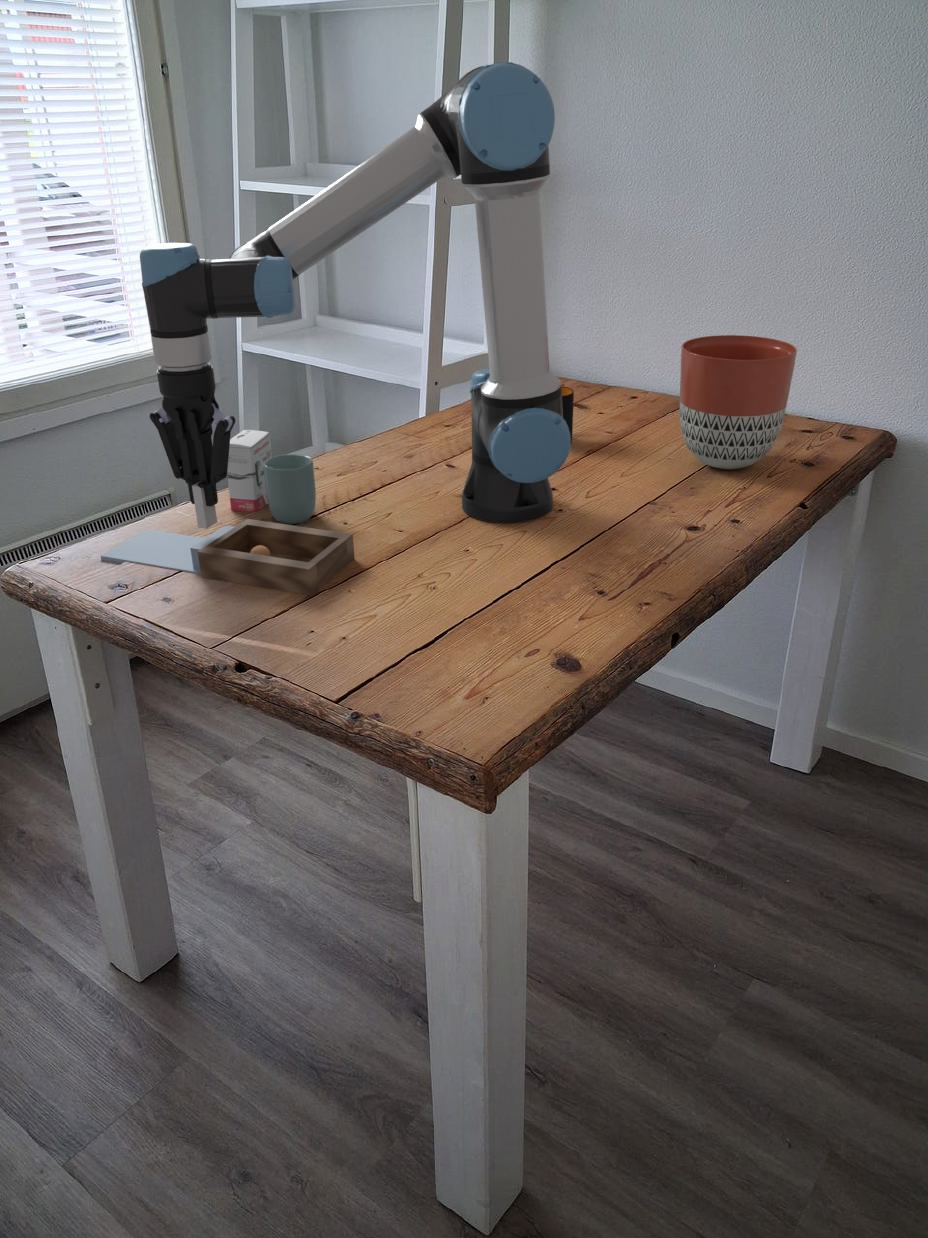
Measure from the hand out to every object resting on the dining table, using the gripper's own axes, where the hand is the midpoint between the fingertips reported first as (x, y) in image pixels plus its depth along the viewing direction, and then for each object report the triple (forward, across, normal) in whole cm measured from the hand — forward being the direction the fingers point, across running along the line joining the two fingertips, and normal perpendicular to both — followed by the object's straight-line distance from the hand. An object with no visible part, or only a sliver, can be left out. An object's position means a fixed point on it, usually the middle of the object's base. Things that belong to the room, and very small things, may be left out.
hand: (207, 524), depth 148 cm
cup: (+6, -4, -18) cm, 19 cm away
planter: (+6, -66, -68) cm, 95 cm away
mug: (+6, -32, -72) cm, 79 cm away
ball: (+5, -8, 0) cm, 10 cm away
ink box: (+6, +6, -22) cm, 24 cm away
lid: (+6, +7, 0) cm, 10 cm away
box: (+6, -12, 0) cm, 13 cm away
